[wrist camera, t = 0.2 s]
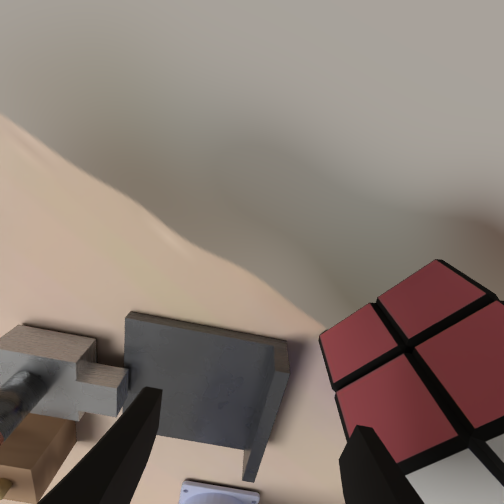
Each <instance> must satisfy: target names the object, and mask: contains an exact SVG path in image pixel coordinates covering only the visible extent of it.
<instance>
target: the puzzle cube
mask: <svg viewBox="0 0 504 504" xmlns="http://www.w3.org/2000/svg"><path fill="white" fill-rule="evenodd" d="M319 344H320V348H321V351H322V355H323V358H324V362H325V365H326V369H327V372H328V376H329V380H330V383H331V387H332V389H333V390H334V391H335V392H336V394H335V401H336V405H337V408H338V412H339V416H340V419H341V423H342V426H343V430H344V433H345V437H346V440H347V442H348V440H349V438H350V436H351V434H352V432H353V430H354V428H355V426H356V425H361V426H367V427H372V428H373V429H374V431H375V432H376V433H377V435H378V436H379V438H380V439H381V441H382V442H383V444H384V445H385V447H386V448H387V450H388V451H389V453H390V454H391V456H392V457H393V459H394V460H395V462H396V463H397V464H398V466H399V467H400V469H401V470H402V472H403V473H404V475H405V476H406V478H407V479H408V481H409V482H410V483H411V485H412V486H413V488H414V489H415V491H416V492H417V493H418V495H419V496H420V498H421V499H422V500H423V502H424V503H425V504H504V301H500V300H499V299H498V297H497V296H496V294H494V293H493V292H491V291H490V290H488V289H487V288H485V287H484V286H482V285H481V284H479V283H477V282H476V281H474V280H473V279H471V278H469V277H468V276H467V275H465V274H464V273H462V272H460V271H459V270H457V269H456V268H454V267H453V266H451V265H450V264H448V263H446V262H445V261H443V260H438V259H435V260H434V261H432V262H431V263H429V264H428V265H426V266H424V267H423V268H421V269H420V270H419V271H417V272H415V273H414V274H412V275H411V276H409V277H408V278H406V279H405V280H403V281H402V282H400V283H399V284H397V285H396V286H394V287H393V288H391V289H390V290H388V291H386V292H385V293H383V294H382V295H381V296H379V297H377V301H376V303H368V304H367V305H365V306H364V307H362V308H361V309H359V310H358V311H356V312H355V313H353V314H351V315H350V316H349V317H347V318H345V319H344V320H342V321H341V322H339V323H338V324H336V325H335V326H333V327H332V328H330V329H329V330H327V331H326V332H324V333H323V334H321V335H320V336H319Z"/></svg>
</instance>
